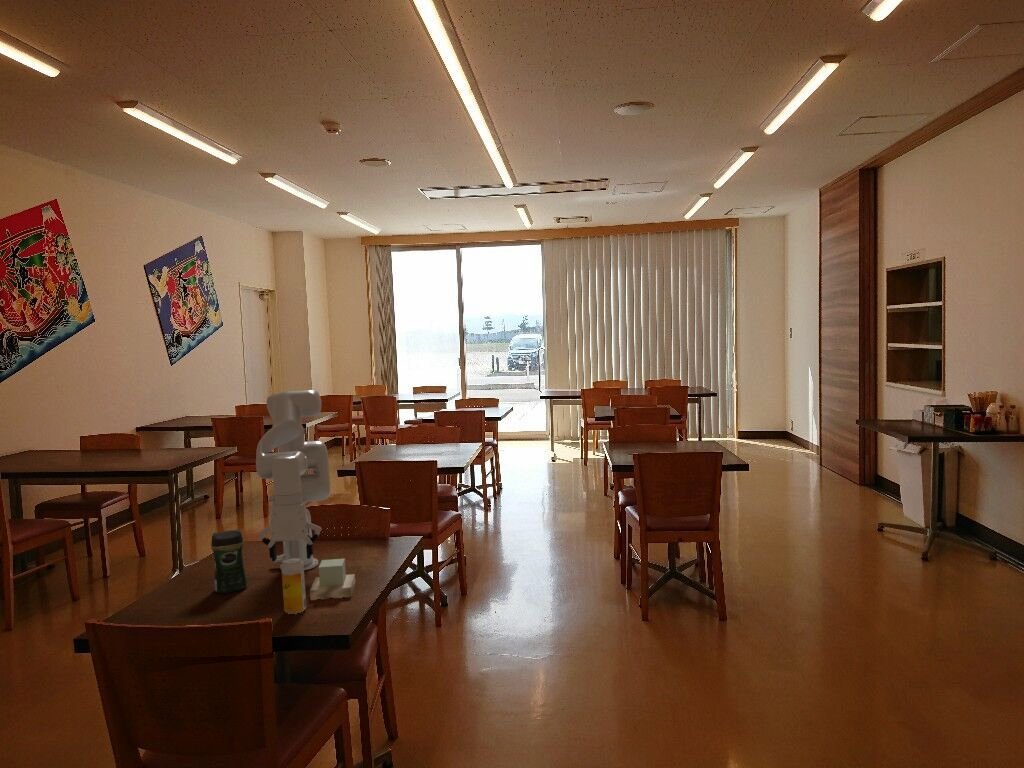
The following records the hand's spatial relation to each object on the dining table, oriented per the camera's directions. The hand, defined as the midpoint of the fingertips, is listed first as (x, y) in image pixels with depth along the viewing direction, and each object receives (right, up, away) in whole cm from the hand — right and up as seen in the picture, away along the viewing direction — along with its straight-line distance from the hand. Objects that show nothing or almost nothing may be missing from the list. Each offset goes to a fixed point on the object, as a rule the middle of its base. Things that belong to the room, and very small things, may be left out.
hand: (291, 558), depth 209 cm
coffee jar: (-26, -15, +23) cm, 38 cm away
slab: (+8, -14, +17) cm, 23 cm away
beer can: (+1, -16, +2) cm, 16 cm away
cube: (+8, -11, +16) cm, 21 cm away
